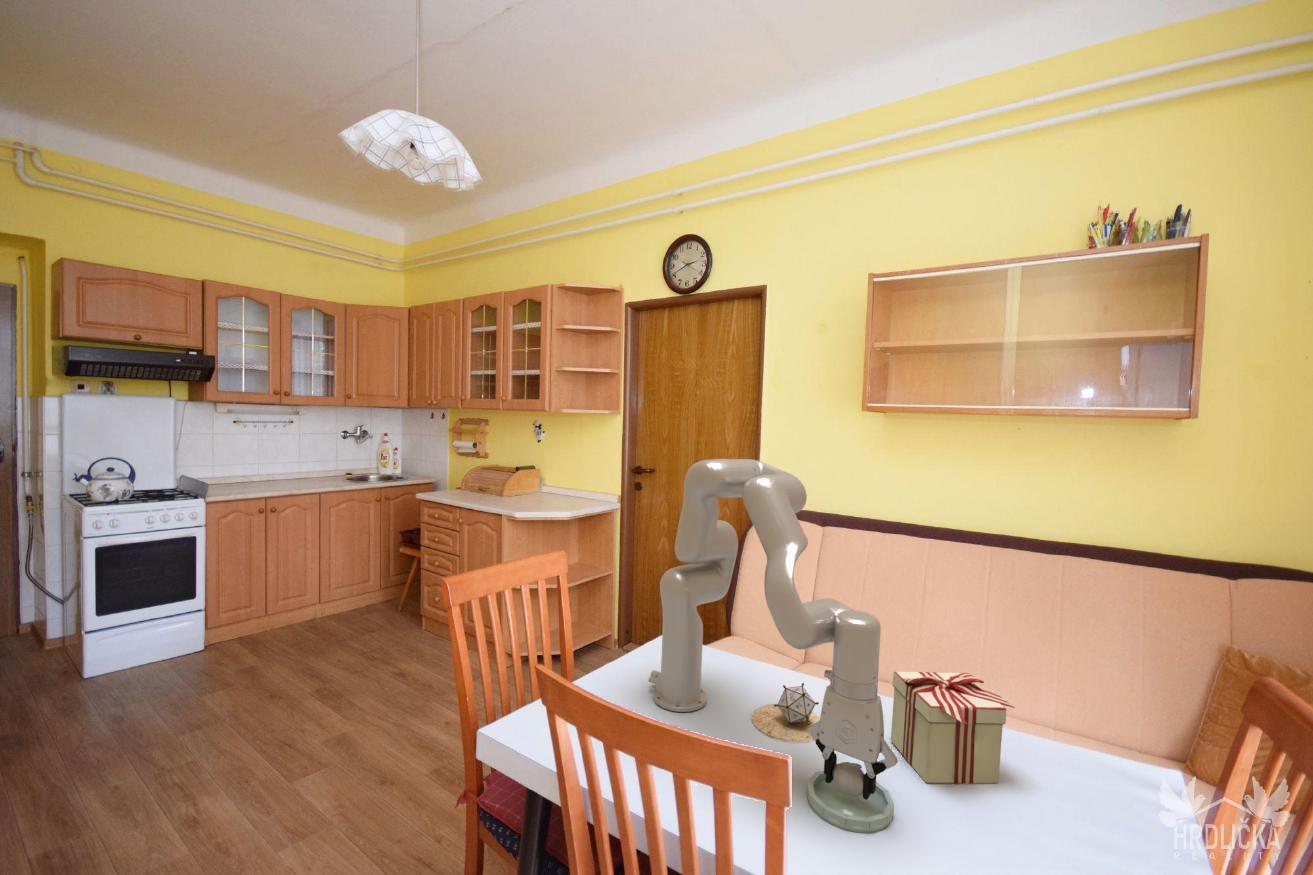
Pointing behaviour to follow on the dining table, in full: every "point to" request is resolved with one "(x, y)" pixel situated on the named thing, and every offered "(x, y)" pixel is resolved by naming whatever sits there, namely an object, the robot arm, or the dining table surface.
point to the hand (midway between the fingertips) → (848, 786)
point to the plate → (849, 806)
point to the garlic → (849, 778)
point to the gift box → (948, 727)
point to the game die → (796, 704)
